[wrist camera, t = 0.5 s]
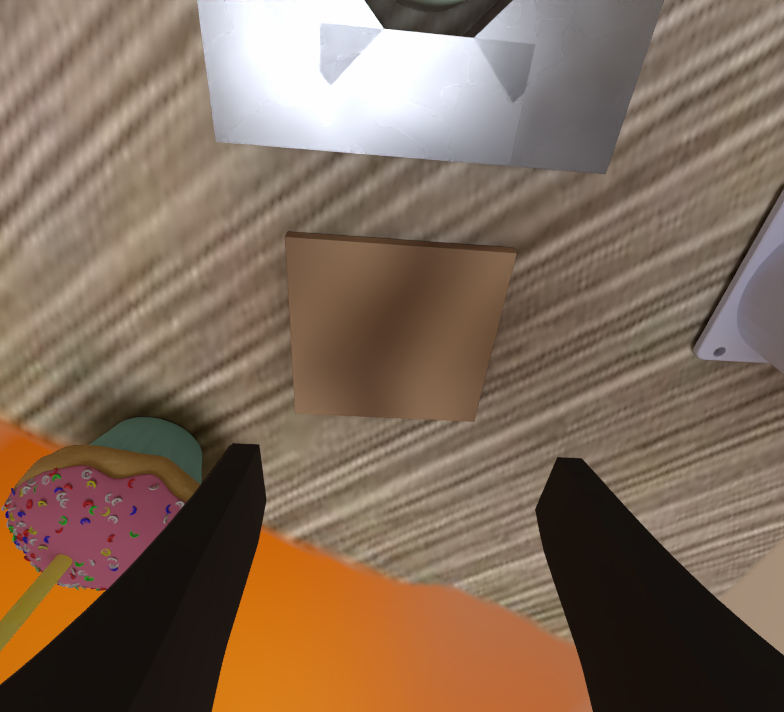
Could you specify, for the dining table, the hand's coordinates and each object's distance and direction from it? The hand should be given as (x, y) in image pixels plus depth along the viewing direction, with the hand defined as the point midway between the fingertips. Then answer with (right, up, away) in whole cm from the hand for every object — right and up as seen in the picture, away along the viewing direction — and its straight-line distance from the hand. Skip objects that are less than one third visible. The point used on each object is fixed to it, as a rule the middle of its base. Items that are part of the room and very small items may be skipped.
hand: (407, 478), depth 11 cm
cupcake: (-13, -2, +13) cm, 19 cm away
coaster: (0, +4, +9) cm, 10 cm away
